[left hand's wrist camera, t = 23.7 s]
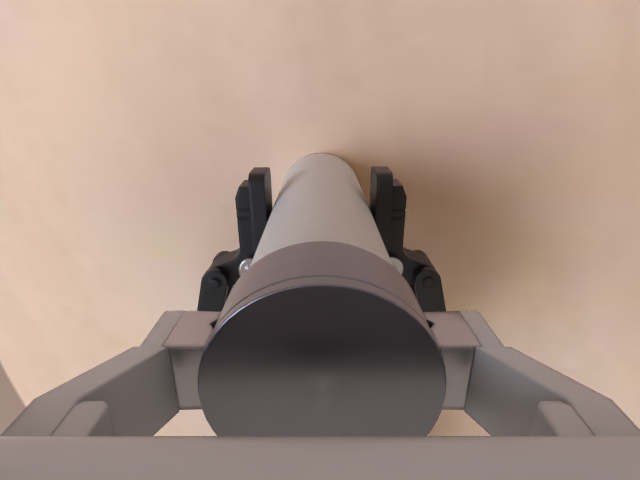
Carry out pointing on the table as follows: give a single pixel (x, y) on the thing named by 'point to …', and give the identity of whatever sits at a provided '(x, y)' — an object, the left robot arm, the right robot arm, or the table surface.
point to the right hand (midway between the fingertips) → (319, 171)
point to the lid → (321, 350)
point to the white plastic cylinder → (321, 209)
